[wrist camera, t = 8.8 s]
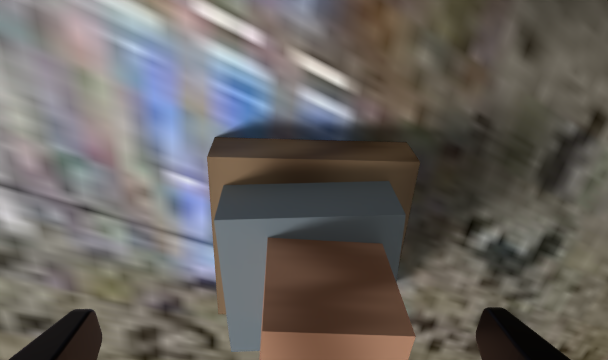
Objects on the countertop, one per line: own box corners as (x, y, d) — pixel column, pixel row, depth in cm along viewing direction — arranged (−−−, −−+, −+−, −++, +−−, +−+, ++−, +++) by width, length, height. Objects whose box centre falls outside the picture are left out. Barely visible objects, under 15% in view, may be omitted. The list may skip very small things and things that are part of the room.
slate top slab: (388, 180, 19) (405, 214, 17) (375, 302, 23) (387, 345, 21) (223, 185, 19) (214, 220, 17) (237, 307, 23) (231, 351, 20)
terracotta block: (382, 243, 18) (415, 336, 13) (363, 325, 20) (386, 427, 15) (267, 237, 17) (262, 331, 13) (261, 321, 19) (255, 425, 15)
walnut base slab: (403, 138, 22) (420, 162, 19) (378, 279, 26) (388, 314, 24) (216, 132, 21) (207, 156, 18) (225, 278, 26) (218, 314, 23)
